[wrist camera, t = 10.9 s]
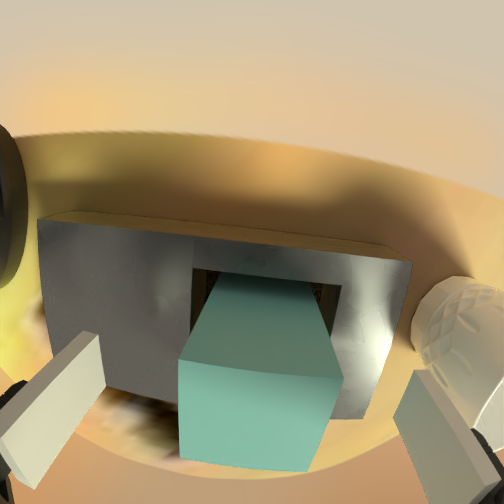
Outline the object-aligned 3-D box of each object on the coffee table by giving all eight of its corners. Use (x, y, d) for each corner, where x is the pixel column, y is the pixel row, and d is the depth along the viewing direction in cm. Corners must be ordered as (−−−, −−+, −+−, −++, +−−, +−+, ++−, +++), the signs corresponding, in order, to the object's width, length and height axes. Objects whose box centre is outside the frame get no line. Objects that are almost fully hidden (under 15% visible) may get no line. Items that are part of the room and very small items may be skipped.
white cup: (430, 252, 17) (535, 311, 8) (500, 282, 18) (588, 335, 8) (383, 357, 19) (440, 460, 10) (457, 370, 19) (519, 448, 10)
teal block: (216, 339, 19) (180, 457, 10) (223, 266, 18) (178, 359, 9) (292, 349, 19) (306, 471, 10) (307, 277, 18) (344, 378, 8)
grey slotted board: (83, 342, 20) (56, 368, 16) (74, 210, 18) (37, 218, 14) (349, 382, 20) (362, 419, 16) (385, 245, 17) (413, 262, 14)
